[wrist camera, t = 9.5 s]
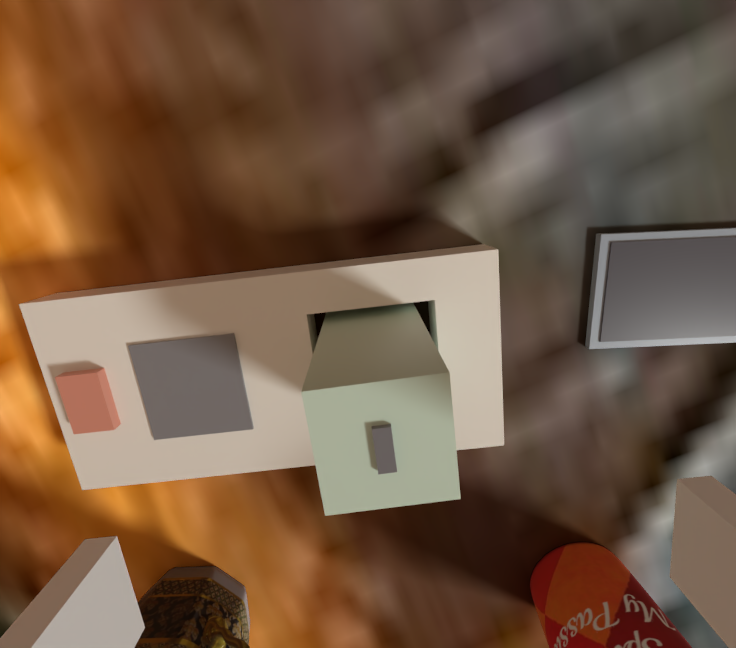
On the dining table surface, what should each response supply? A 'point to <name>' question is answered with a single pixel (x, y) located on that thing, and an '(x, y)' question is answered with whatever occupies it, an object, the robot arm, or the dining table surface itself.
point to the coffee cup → (596, 602)
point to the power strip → (246, 361)
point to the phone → (663, 288)
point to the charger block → (380, 412)
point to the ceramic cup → (195, 611)
